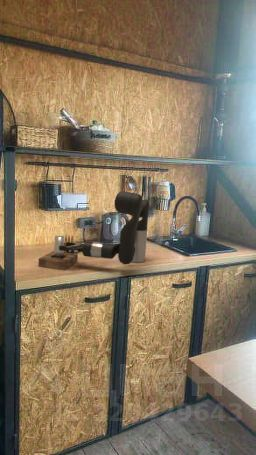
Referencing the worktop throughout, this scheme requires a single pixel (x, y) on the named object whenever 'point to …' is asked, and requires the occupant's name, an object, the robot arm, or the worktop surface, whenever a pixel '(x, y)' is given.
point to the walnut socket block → (58, 261)
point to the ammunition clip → (68, 241)
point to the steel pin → (58, 242)
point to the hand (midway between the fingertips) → (62, 246)
